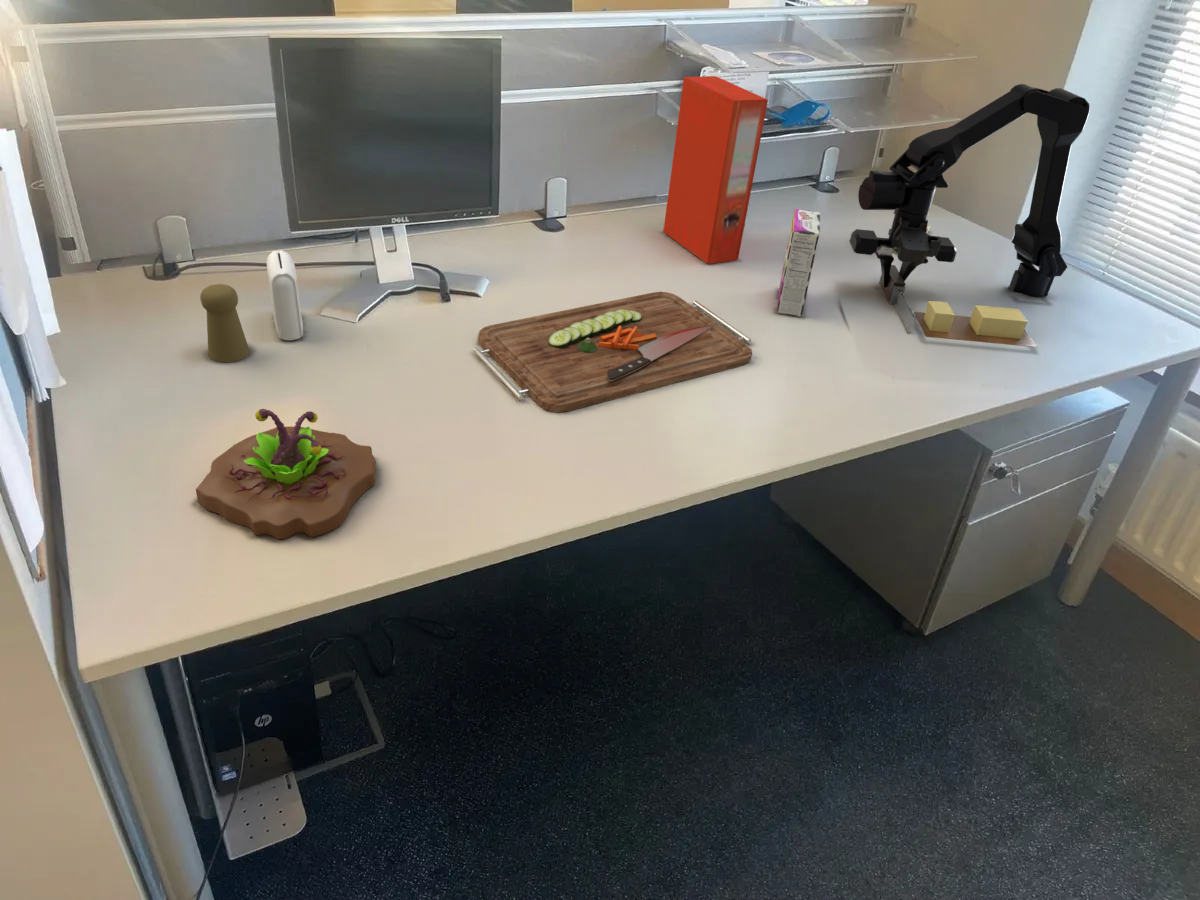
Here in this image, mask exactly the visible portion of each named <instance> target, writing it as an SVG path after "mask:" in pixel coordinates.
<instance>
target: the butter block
mask: <svg viewBox="0 0 1200 900" xmlns="http://www.w3.org/2000/svg"><path fill="white" fill-rule="evenodd" d="M970 317H971V318H970V321H969V323H970V325H971V326H972V328H973V329H974V331H975V333H976V334H977V335H983V336H994V337H1004V338H1015V339H1021V337H1022V334H1023V331H1024V329H1025V330H1026V326H1027V325H1028V320H1027V318H1026V317H1025V315H1023V313H1022V312H1021V310H1020V309H1019V308H1012V307H999V306H989V305H980V304H975V305H974V307H973V310H972V313H971V316H970Z"/></svg>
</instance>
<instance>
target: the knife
mask: <svg viewBox="0 0 1200 900" xmlns="http://www.w3.org/2000/svg"><path fill="white" fill-rule="evenodd" d="M899 271H900V270H899V269H898V268H897V266H896V265H895V264H891V269H890V274H889V279H888V283H887V286H886V287H884V286H883V281H882V273H881V274H880V278H879V281H878V284H879V286H880V288H881V290H882V292H883V293H884V296H885V298H886V300H887V302H888V303H889V304H890V305H894V308H895V309H896V311H897V313H898V316H899V318H900V319H901V322H902V324H903V325H904V327H905V330H906V331H907V333H912V332H913V328H914V325H915V322H916V320H917V318H916V316H915V314H914V311H913V309H912V308H911V306H910V304H909V302H908V300H907V298H906V297H905V295H904V294H905V291H906V281H904V280H903V278H902V277H901V275H900V273H899Z"/></svg>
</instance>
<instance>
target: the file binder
mask: <svg viewBox="0 0 1200 900" xmlns="http://www.w3.org/2000/svg"><path fill="white" fill-rule="evenodd" d="M768 102H769V99H767V98H765V97H763V96H760V95H758V94H756V93H755V92H752V91H750V90H748V89H745V88H743V87H741V86H739V85H736V84H734V83H732V82H730V81H728V80H726V79H724V78H721V77H718V76H717V75H707V76H706V75H705V76H684V77H683V82H682V87H681V96H680V104H679V112H678V119H677V127H676V133H675V141H674V148H673V155H672V156H673V157H672V163H671V170H670V171H671V172H670V178H669V185H668V193H667V202H666V209H665V216H664V222H663V223H664V224H663V230H662V232H663V233H665V235H667V236H668V237H669V238H670V239H672V240H674V241H675V242H677V243H678V244H679V245H681V246H682V247H683V248H685V249H686V250H687V251H689V252H690V253H692V254H693V255H695V256H696V257H698V258H699V259H700V260H701V261H703V262H704V263H706V264H708V265H712V264H713V265H714V264H721V263H727V262H734V261H738V259H739V257H740V252H741V247H742V241H743V236H744V230H745V227H746V226H745V225H746V221H747V220H746V219H747V214H748V209H749V204H750V198H751V193H752V188H753V182H754V177H755V172H756V168H757V167H756V166H757V161H758V156H759V150H760V145H761V139H762V135H763V134H762V133H763V130H764V129H763V128H764V123H765V118H766V112H767V107H768Z"/></svg>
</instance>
